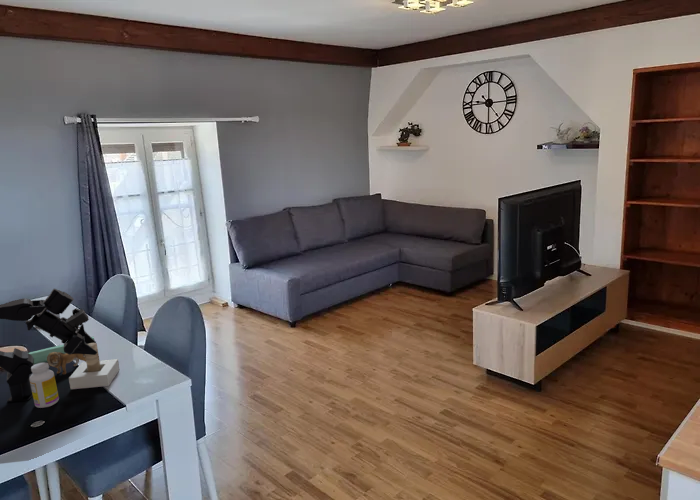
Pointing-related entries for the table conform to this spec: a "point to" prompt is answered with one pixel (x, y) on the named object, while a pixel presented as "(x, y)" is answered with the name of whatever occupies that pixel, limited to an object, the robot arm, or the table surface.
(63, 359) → the lion figurine
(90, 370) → the peg
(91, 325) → the table surface
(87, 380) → the socket
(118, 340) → the table surface
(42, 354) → the container
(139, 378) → the table surface
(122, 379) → the table surface
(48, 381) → the supplement bottle
